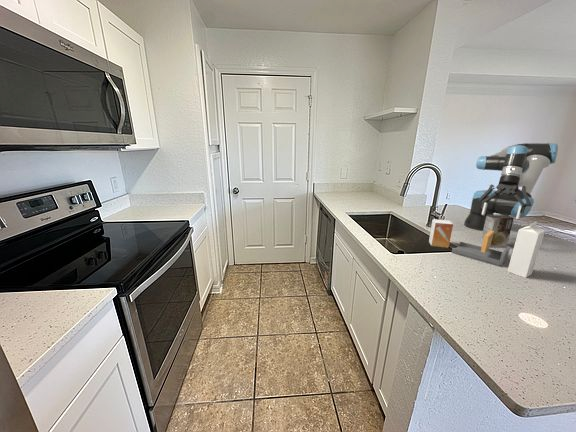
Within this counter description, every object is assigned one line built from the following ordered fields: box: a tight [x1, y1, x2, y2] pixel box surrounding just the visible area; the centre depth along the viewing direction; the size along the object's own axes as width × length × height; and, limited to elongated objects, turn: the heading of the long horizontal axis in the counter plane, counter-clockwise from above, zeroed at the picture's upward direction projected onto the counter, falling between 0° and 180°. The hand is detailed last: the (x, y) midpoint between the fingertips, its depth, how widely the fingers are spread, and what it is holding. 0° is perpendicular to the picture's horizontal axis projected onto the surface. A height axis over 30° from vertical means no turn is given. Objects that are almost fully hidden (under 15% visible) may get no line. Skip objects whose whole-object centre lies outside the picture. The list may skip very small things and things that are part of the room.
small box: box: [428, 219, 454, 249], centre depth 128 cm, size 8×6×13 cm
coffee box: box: [479, 213, 515, 248], centre depth 126 cm, size 9×6×16 cm
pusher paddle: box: [481, 230, 494, 253], centre depth 113 cm, size 10×2×8 cm, turn 130°
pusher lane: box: [451, 241, 511, 267], centre depth 116 cm, size 12×19×6 cm, turn 40°
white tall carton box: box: [507, 221, 546, 279], centre depth 98 cm, size 6×6×22 cm
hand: (499, 217), depth 123 cm, fingers open, 13 cm apart
